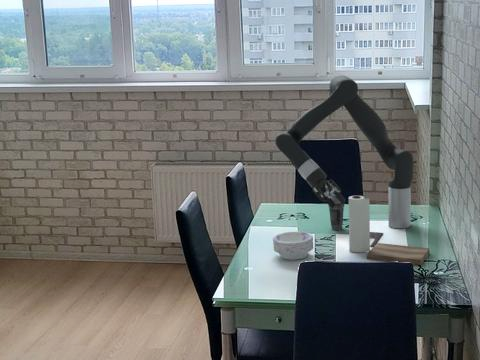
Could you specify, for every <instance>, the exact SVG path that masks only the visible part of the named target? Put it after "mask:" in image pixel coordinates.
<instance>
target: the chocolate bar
mask: <svg viewBox="0 0 480 360" xmlns="http://www.w3.org/2000/svg"><path fill="white" fill-rule="evenodd" d="M383 235H384V232H377V231H370V248H373V247H374V246H375V245H376V244H377V243H379V241H380V239H381V237H382V236H383Z"/></svg>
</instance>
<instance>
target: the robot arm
mask: <svg viewBox="0 0 480 360" xmlns="http://www.w3.org/2000/svg"><path fill="white" fill-rule="evenodd" d="M329 91H330V93H331V94H330V96H328V97H327V98H326V99H324V101H322V102H320V103H319V104H317V105H315V106H313V107H312V108H310V109H308V110H307V111H305V112H304V113H303V114H301V116H300V117H299V118H297V119H296V120H295V121H294V122H293V123H292V125H291V127H290V129H289V130H287V132H281V133H278V134H277V136H276V137H275V139H274V140H275V145H276V147H277V148H278V150H279V151H280V152H282V153H283V154H284V156H285V157H286V158H287V159H288V160H289V161H290V163H291V164H292V166H293V167H294V168H295V169H296V170H297V172H298V173H299V174H300V176H301V178H303V179H304V180H305V181H306V182H307V184H308V185H309V186H310V187H311V188H312V192H313V193H314V194H315V196H316V197H317V199H318V200H319V201H320V202H324V203H325V202H326V203H327V205H328V204H329V206H330V207H331V208H334V207H335V206H336V203H335V202H334V201H333V200H332V199H331V198H330V196H331V195H332V194H333V195H334V196H336V198H337V199H338V200H339V201H340V202H341V203H344V202H345V203H346V200H347V199H346V198H345V197H344V196H343V195H342V194H341V191H342V188H341V187H340V186H339V185H338V183H336V182H335V181H334V180H333V179H332V178H331V179H329V180H327V177H328V175H327V174H326V172H324V170H323V169H322V168H321V167H320V166H319V165H318V163H316V162H315V161H314V160H313V159H312V158H311V157H310V155H308V153H307V152H306V151H305V150H303V149H302V148H301V147H300V145H299V144H300V143H301V141H302V140H303V139H304V137H306V136H307V135H308V134H309V133H311V131H313V130H314V129H315V128H316V127H317V126H318V125H319V124H321V123H322V122H323V121H325V119H326V118H328V117H329V116H331V115H332V114H334V112H336V111H337V110H339V109H340V108H342V107H344V108H345V110H346V111H347V112H348V113H349V115H350V117H351V118H352V120H353V121H354V123H355V124H356V126H357V127H358V129H359V130H360V131H361V132H362V134H363V135H364V137H366V138H367V140H368V141H369V142H370V143H371V145H372V146H373V147H374V148H375V150H376V151H377V153H378V155H379V156H380V158H381V160H382V161H383V163H384V164H385V166H386V167H387V168H389V169H390V170H393V171H394V175H393V176H394V177H393V178H390V179H388V227H390V228H393V229H407V228H410V227H411V222H412V221H411V219H412V217H411V216H412V214H411V213H412V211H411V209H412V208H411V207H412V206H411V205H412V204H411V203H412V201H411V200H412V199H411V197H412V195H411V193H412V192H411V189H412V188H411V184H412V183H413V182H412V181H413V179H414V178H413V177H414V163H415V162H414V157H413V154H412V152H410V151H409V150H406V149H401V148H399V147H397V146H396V145H394V143H393V141H391V140H390V139H389V136H388V130H387V127H386V125H385V123H384V121H383V120H382V118H381V117H380V116H379V114H378V113H377V112H376V111H375V110H374V109H373V108H372V107H371V106H370V105H369V104H368V103H367V102H366V101H364V100H363V99H362V97H361V96H360V95H359V92H358V91H359V86H358V84H357V82H356V81H355V80H353V79H352V78H350V77H349V76H346V75H342V74H340V75H339V74H338V75H336V76H334V77H332V79H331V80H330V82H329ZM336 188H337V189H336ZM345 203H344V204H345ZM329 206H328V207H329Z"/></svg>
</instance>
